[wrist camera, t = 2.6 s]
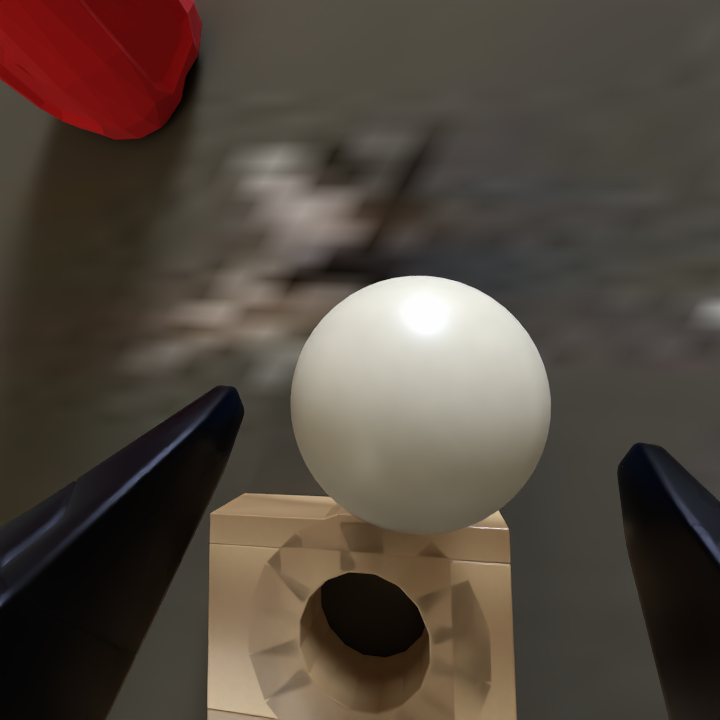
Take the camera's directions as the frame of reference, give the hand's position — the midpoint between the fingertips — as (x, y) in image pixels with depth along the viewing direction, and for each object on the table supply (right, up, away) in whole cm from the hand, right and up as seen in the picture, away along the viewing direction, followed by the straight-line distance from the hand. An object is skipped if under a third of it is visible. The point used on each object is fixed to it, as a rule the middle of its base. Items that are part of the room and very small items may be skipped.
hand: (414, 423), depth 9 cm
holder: (-1, -12, +8) cm, 14 cm away
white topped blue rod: (+2, 0, +9) cm, 9 cm away
